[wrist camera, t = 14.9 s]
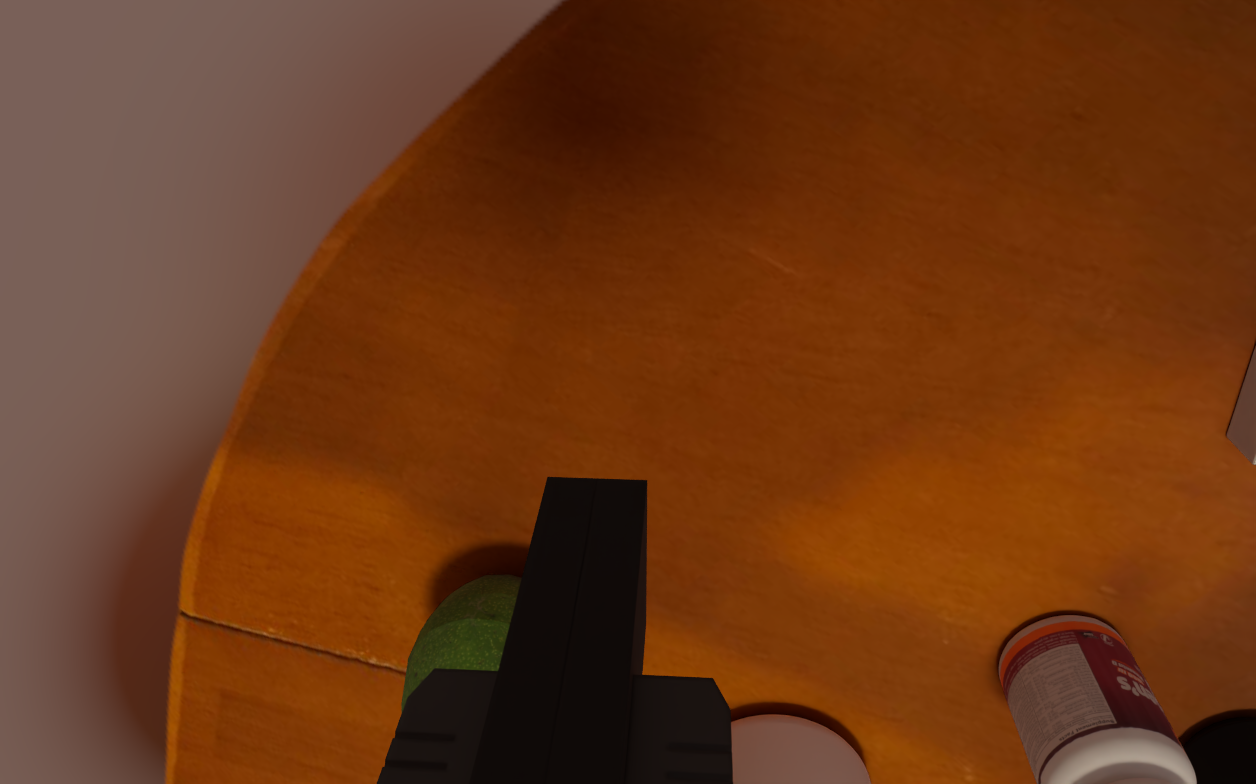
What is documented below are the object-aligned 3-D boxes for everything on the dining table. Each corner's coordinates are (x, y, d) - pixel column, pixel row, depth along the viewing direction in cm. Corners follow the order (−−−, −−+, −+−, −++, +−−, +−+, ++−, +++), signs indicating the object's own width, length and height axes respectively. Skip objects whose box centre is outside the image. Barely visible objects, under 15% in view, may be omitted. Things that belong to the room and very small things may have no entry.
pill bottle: (1149, 663, 49) (1265, 866, 39) (1040, 723, 51) (1123, 930, 41) (1079, 588, 47) (1181, 780, 37) (969, 653, 49) (1038, 851, 39)
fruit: (588, 672, 52) (558, 880, 41) (436, 656, 52) (368, 859, 41) (598, 547, 48) (568, 739, 37) (435, 530, 48) (359, 716, 37)
